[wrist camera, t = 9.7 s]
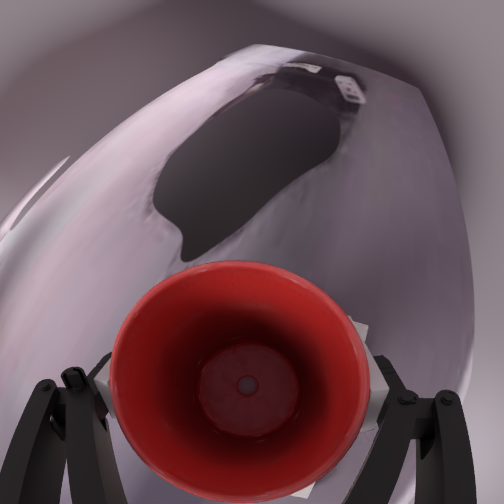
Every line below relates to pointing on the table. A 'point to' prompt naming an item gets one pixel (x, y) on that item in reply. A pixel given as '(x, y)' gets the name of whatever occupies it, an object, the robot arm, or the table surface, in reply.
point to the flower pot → (239, 381)
